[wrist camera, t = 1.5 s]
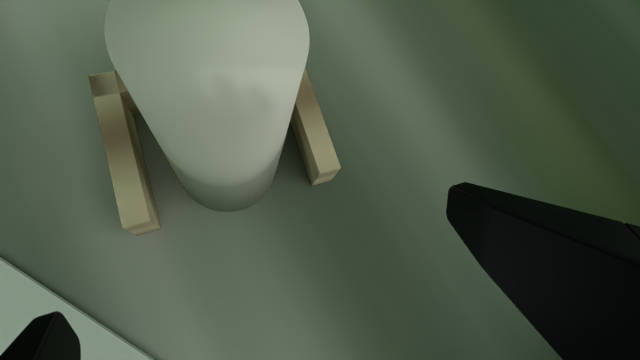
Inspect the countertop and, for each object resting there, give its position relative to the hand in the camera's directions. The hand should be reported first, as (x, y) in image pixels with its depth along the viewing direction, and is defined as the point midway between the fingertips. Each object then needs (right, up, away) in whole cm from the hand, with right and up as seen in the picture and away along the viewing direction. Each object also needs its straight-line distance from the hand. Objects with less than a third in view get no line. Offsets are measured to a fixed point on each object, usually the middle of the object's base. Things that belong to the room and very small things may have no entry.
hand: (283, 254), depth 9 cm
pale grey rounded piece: (-5, +4, +13) cm, 15 cm away
